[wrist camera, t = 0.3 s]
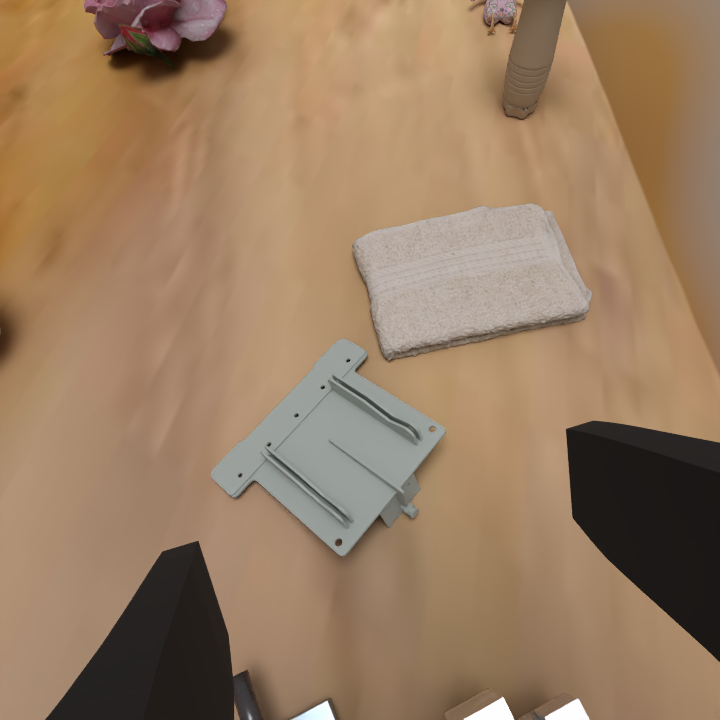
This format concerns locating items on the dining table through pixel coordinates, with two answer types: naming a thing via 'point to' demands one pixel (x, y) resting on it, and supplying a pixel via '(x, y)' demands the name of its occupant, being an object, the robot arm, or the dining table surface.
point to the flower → (155, 23)
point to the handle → (531, 55)
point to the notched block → (481, 708)
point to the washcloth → (468, 278)
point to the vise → (556, 716)
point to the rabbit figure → (500, 13)
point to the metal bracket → (336, 451)
